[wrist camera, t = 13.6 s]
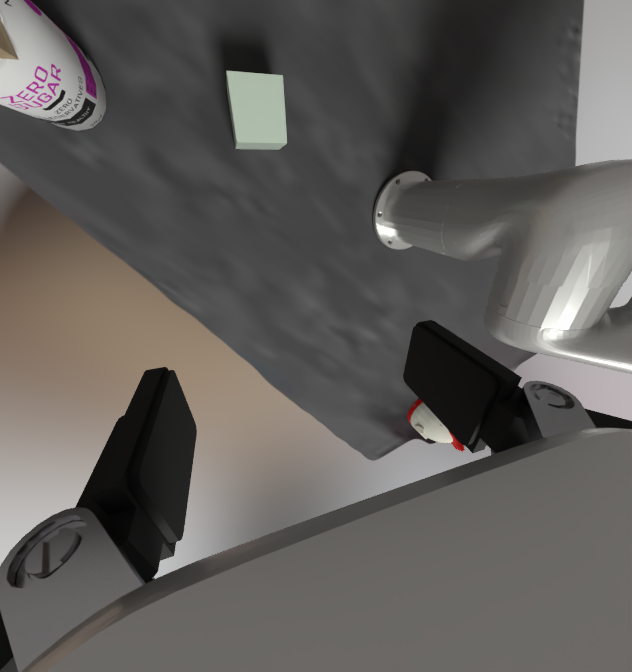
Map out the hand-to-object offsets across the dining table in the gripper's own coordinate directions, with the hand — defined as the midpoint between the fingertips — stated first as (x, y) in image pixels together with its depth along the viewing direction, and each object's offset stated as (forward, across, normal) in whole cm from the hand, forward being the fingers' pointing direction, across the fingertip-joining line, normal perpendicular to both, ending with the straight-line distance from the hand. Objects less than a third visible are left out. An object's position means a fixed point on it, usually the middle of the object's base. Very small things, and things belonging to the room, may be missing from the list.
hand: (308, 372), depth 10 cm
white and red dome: (+37, -47, +55) cm, 81 cm away
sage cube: (+36, -3, -14) cm, 39 cm away
